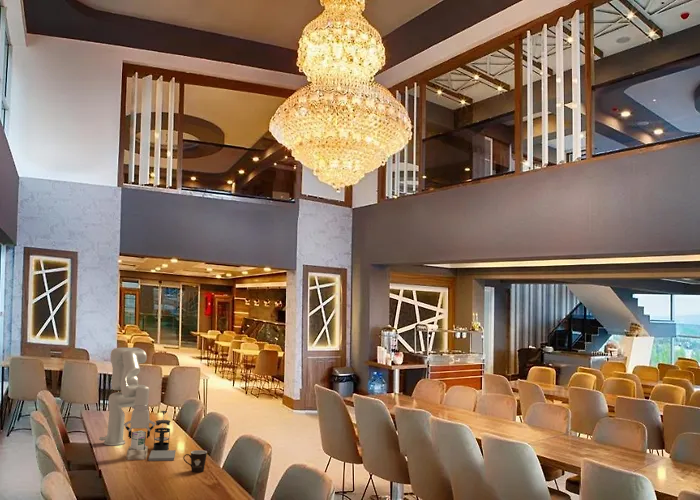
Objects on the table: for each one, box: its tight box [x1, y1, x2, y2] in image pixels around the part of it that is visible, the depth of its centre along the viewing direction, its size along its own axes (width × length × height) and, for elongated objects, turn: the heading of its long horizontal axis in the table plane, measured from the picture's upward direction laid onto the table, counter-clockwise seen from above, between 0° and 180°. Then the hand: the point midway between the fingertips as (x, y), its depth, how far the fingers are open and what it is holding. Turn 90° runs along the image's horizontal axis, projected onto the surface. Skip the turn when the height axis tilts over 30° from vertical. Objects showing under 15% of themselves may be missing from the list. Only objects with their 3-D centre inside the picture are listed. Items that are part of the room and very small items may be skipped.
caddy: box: [126, 445, 149, 461], centre depth 336 cm, size 10×10×5 cm
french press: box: [152, 410, 171, 451], centre depth 358 cm, size 12×9×23 cm
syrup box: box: [130, 430, 147, 450], centre depth 336 cm, size 6×6×14 cm
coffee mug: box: [183, 449, 208, 474], centre depth 314 cm, size 12×9×10 cm
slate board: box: [148, 449, 176, 462], centre depth 339 cm, size 14×18×2 cm
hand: (138, 438), depth 336 cm, fingers open, 9 cm apart
